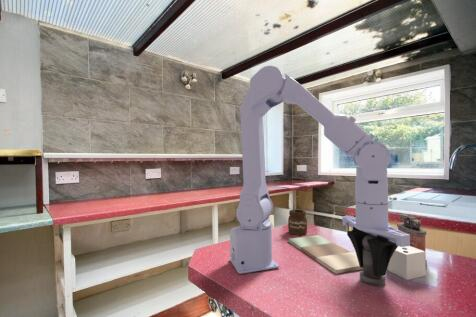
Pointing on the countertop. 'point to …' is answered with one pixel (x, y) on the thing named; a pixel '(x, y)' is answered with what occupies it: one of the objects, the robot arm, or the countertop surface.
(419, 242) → the lighter
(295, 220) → the utensil holder
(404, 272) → the die
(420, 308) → the countertop surface
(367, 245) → the pawn
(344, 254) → the board
